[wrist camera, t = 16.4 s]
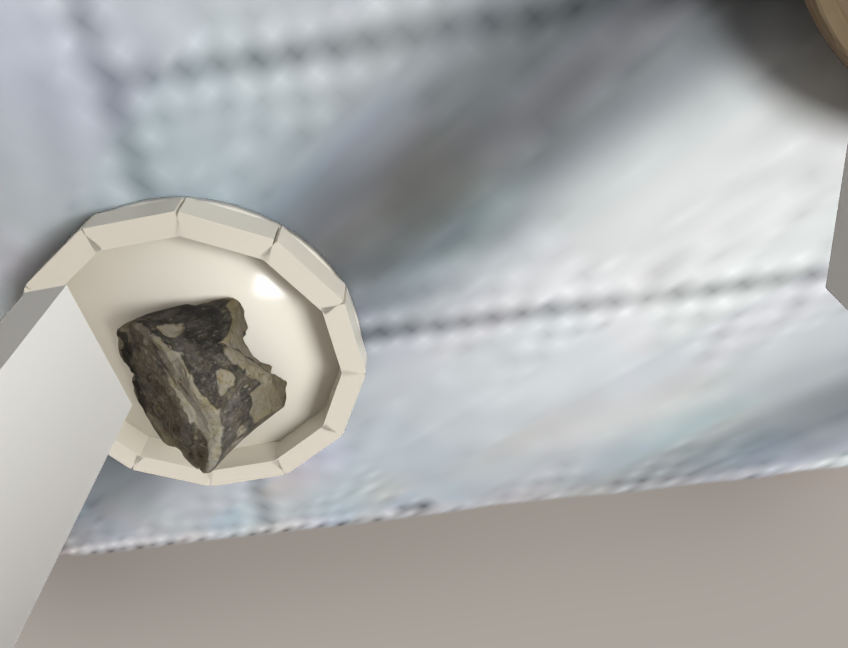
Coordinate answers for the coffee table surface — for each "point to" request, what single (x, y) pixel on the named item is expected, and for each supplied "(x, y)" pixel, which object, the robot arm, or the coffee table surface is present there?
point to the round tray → (212, 280)
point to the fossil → (199, 378)
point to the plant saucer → (832, 24)
